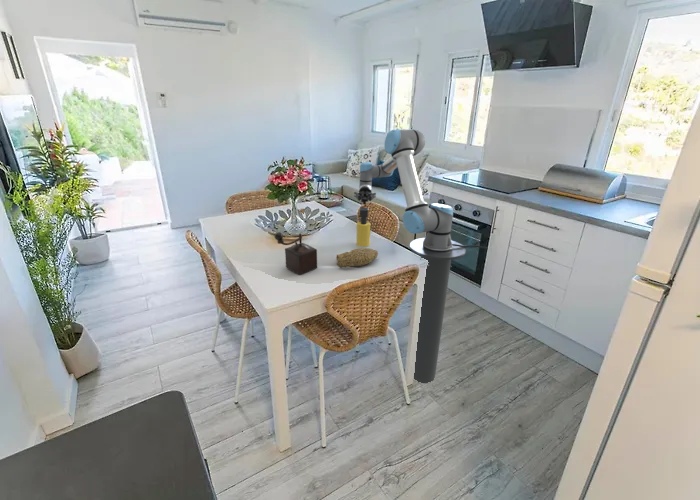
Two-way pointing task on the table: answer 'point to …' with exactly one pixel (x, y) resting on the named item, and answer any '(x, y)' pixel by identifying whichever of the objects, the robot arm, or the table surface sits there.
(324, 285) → the table surface
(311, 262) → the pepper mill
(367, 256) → the sponge
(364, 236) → the spray bottle
